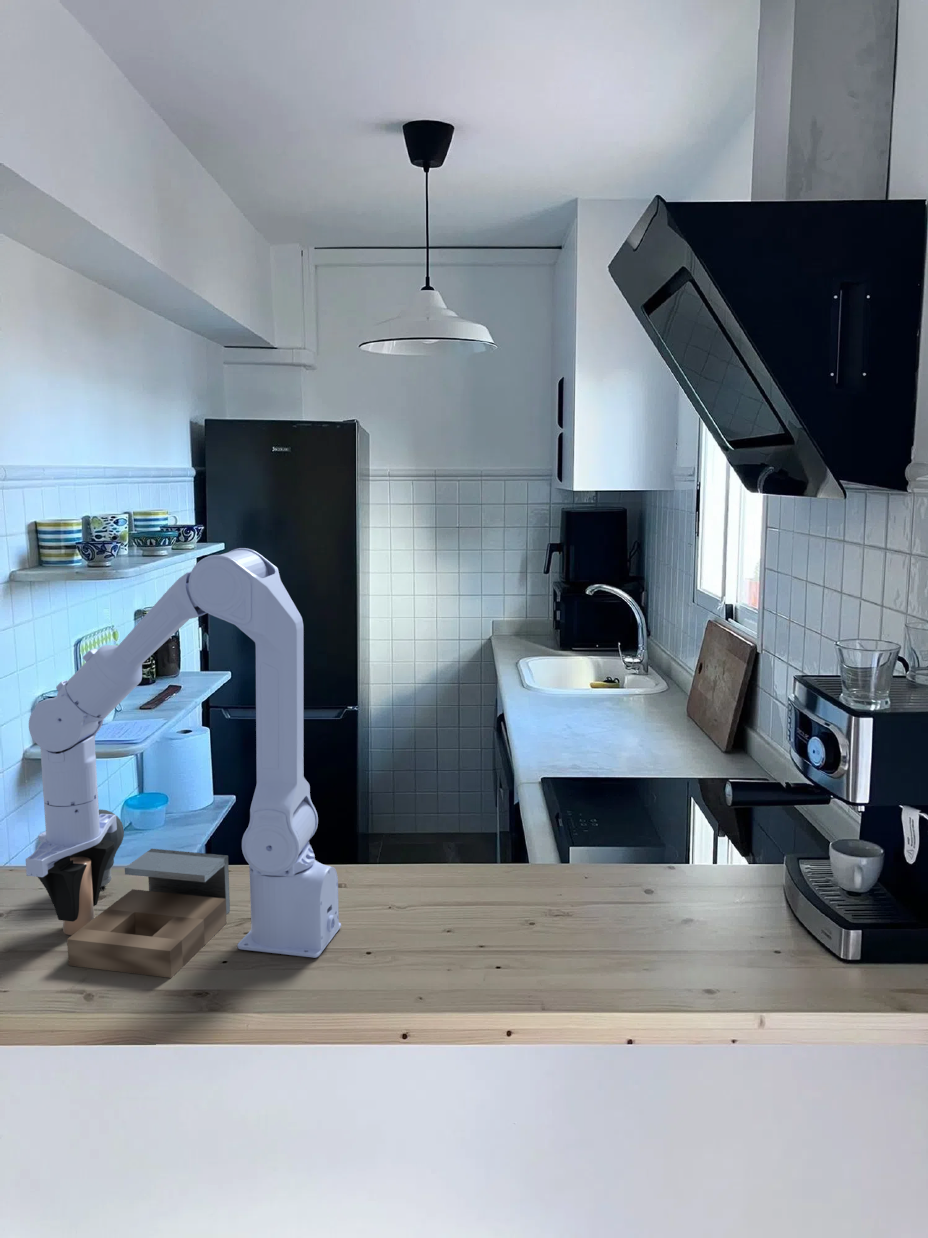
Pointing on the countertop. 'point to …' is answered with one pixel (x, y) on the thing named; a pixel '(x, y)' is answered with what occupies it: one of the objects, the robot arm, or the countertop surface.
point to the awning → (184, 873)
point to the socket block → (147, 933)
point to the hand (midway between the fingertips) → (78, 912)
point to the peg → (82, 899)
